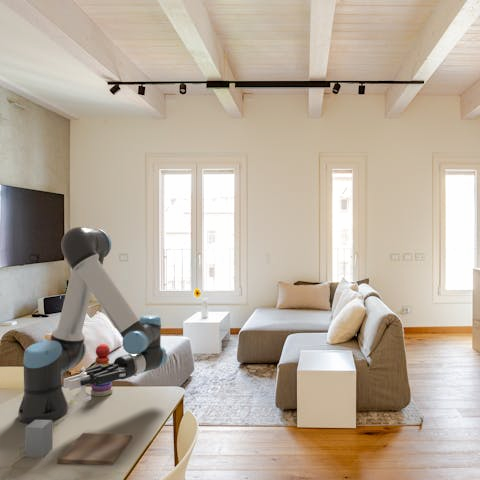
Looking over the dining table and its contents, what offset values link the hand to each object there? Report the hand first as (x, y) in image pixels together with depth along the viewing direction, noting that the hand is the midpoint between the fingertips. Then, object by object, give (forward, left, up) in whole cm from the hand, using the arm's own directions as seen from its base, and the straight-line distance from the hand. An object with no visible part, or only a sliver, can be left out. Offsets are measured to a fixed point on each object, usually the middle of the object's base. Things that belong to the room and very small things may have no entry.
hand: (67, 384), depth 126 cm
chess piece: (+3, +5, -6) cm, 8 cm away
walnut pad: (+12, -7, -16) cm, 21 cm away
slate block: (-4, -9, -16) cm, 19 cm away
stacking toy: (-5, +36, -16) cm, 39 cm away
